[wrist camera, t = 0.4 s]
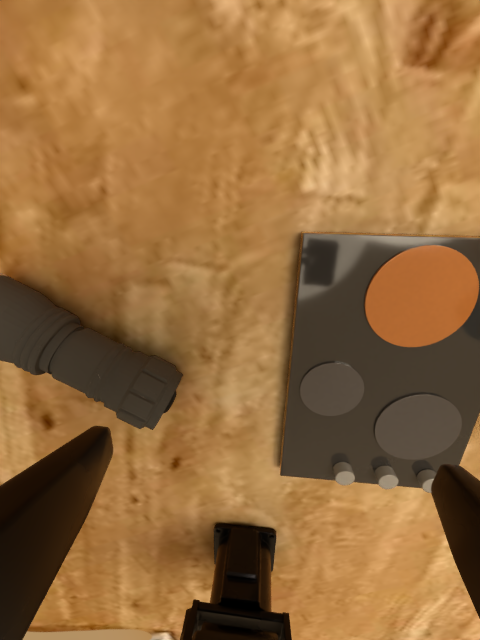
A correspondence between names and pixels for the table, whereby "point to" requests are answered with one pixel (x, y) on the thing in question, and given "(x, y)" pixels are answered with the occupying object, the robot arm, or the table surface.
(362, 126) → the table surface
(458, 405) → the stove
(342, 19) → the table surface
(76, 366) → the flashlight
